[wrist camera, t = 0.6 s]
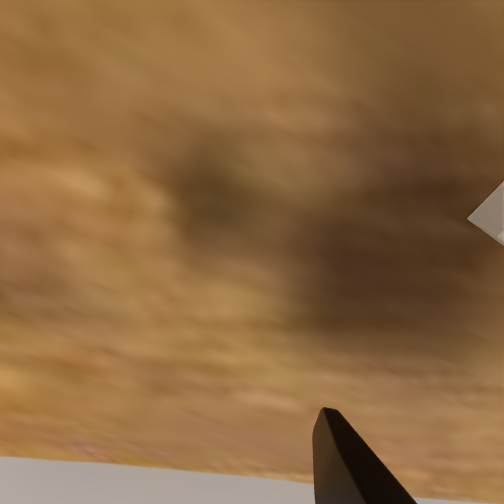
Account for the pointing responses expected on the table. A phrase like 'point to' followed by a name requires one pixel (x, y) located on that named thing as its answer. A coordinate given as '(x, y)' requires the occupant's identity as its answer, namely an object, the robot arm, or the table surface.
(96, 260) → the table surface
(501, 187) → the switch box
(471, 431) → the table surface
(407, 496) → the robot arm
